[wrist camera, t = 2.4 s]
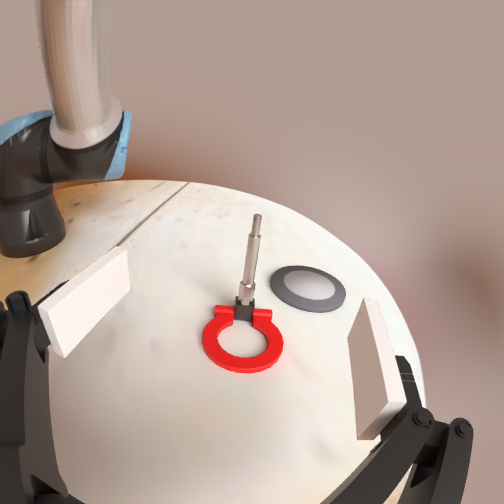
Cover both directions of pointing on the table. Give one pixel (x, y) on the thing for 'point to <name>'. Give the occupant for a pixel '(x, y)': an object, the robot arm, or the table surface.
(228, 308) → the tow hook
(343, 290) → the plate
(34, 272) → the table surface
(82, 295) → the robot arm
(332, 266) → the table surface
